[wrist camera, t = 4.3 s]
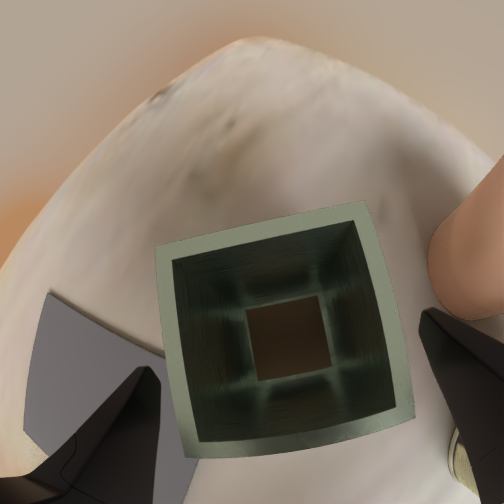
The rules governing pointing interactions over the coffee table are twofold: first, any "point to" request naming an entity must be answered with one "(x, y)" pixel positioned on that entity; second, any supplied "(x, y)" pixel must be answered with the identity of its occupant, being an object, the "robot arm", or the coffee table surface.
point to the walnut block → (288, 338)
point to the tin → (269, 293)
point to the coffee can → (461, 463)
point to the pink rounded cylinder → (472, 252)
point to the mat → (95, 389)
